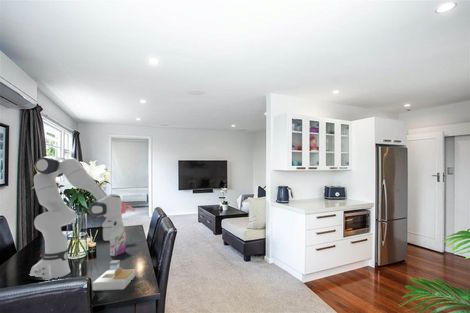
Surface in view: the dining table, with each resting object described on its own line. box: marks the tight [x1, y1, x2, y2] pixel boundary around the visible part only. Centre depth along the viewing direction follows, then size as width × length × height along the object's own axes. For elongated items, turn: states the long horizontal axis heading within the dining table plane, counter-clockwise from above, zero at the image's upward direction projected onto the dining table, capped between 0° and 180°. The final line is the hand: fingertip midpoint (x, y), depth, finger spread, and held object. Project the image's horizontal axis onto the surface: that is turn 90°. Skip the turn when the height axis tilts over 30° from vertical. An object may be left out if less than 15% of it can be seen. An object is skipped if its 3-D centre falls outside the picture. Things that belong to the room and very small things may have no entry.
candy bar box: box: [109, 229, 127, 257], centre depth 192 cm, size 11×5×16 cm, turn 163°
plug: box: [108, 259, 121, 270], centre depth 157 cm, size 5×5×6 cm
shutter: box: [113, 266, 133, 279], centre depth 142 cm, size 7×9×3 cm
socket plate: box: [92, 268, 136, 291], centre depth 142 cm, size 16×16×4 cm
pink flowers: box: [102, 200, 135, 241], centre depth 225 cm, size 15×26×35 cm, turn 138°
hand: (114, 243), depth 157 cm, fingers open, 4 cm apart
